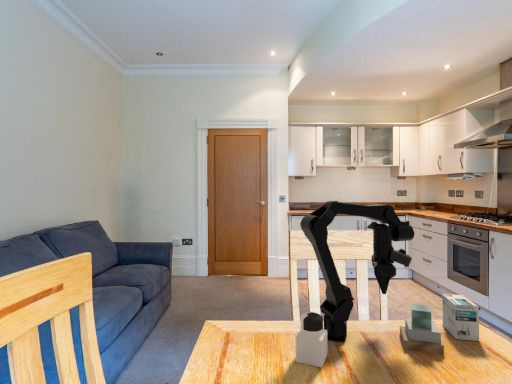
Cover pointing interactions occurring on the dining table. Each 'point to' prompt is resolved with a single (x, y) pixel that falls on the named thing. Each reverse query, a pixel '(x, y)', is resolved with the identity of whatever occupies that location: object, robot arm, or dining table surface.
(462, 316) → the light bulb box
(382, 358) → the dining table surface
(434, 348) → the walnut slab
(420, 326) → the teal block
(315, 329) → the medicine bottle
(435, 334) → the grey slab
